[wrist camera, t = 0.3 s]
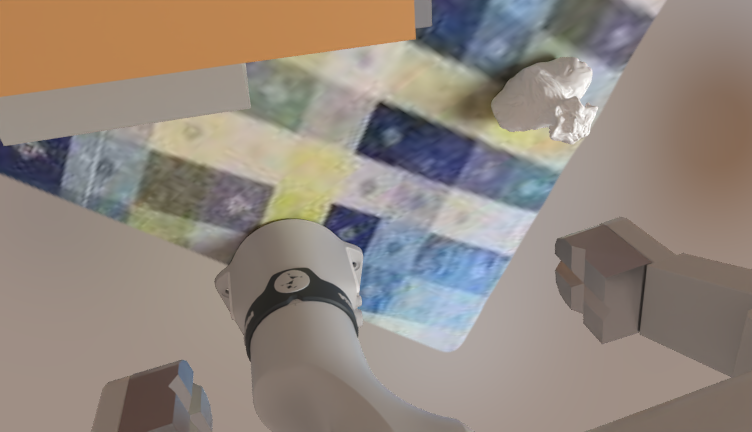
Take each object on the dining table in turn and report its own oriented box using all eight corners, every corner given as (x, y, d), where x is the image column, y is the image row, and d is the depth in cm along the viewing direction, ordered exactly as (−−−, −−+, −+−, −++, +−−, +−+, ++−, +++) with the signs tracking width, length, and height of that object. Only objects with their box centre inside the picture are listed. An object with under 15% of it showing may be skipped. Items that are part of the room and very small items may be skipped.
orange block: (392, 24, 27) (415, 39, 24) (-28, 80, 24) (-71, 106, 20) (387, -51, 25) (412, -47, 22) (-68, -2, 22) (-121, 12, 19)
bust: (479, 112, 65) (531, 183, 61) (476, 82, 58) (535, 160, 54) (562, 61, 64) (620, 130, 60) (570, 23, 57) (636, 99, 53)
